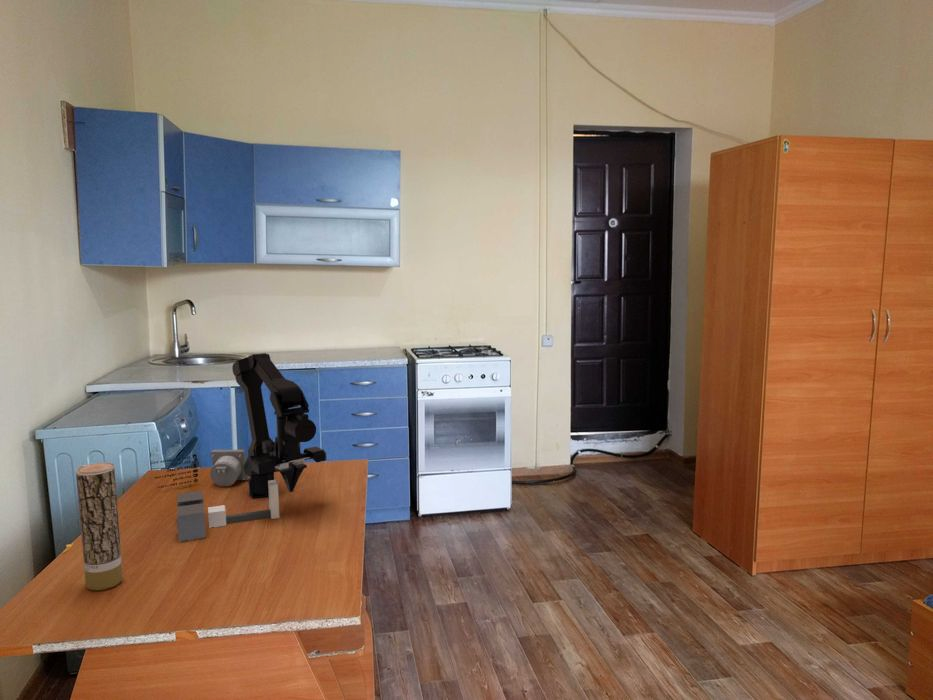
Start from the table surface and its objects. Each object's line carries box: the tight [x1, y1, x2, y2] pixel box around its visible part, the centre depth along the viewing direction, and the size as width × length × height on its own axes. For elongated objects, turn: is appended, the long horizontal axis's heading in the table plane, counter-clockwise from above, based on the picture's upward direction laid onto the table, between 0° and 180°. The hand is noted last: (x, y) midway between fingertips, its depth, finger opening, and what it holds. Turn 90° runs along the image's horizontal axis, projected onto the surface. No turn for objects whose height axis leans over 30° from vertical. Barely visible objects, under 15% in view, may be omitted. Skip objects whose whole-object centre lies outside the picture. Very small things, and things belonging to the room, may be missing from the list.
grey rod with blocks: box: [207, 479, 280, 529], centre depth 170 cm, size 17×4×9 cm, turn 113°
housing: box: [176, 490, 207, 542], centre depth 166 cm, size 6×16×6 cm, turn 23°
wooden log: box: [75, 462, 124, 591], centre depth 136 cm, size 7×7×25 cm
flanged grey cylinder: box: [150, 449, 249, 489], centre depth 194 cm, size 27×11×10 cm, turn 125°
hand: (290, 491), depth 175 cm, fingers closed
